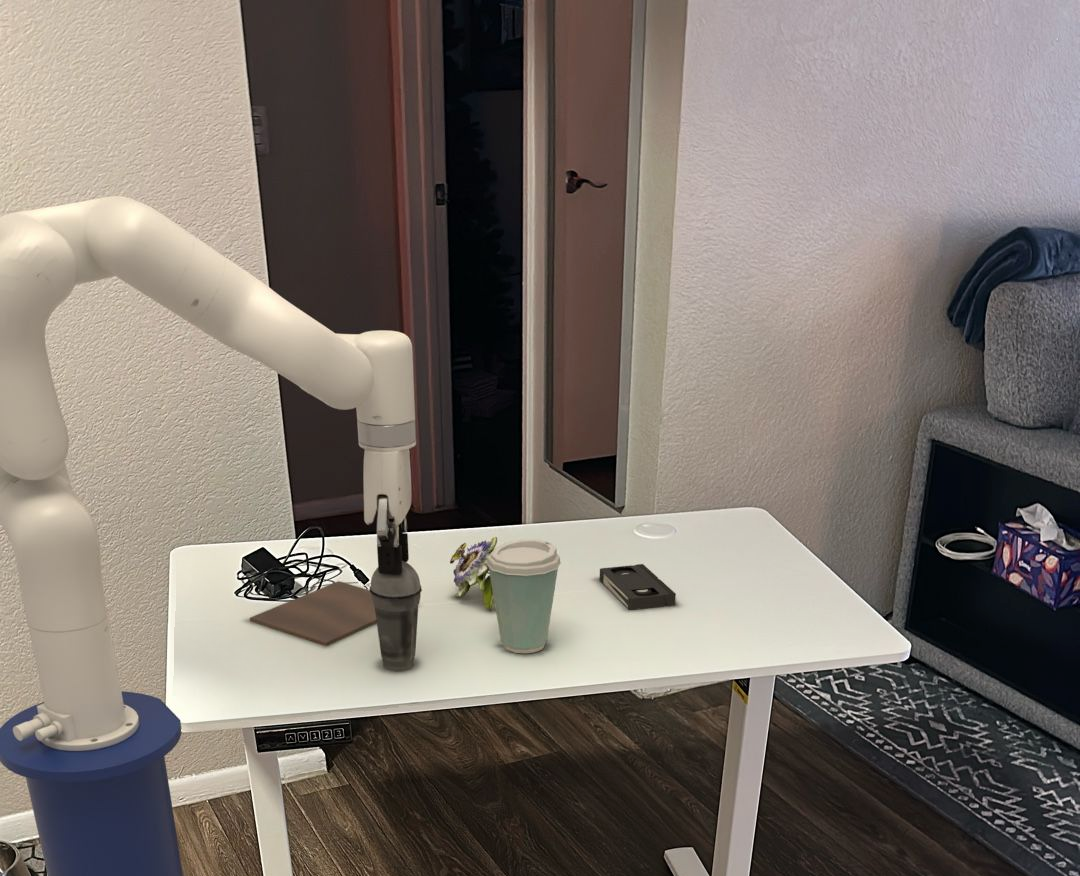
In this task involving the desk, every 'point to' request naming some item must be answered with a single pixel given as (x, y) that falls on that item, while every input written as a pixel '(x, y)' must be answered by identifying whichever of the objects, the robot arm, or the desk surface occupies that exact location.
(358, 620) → the walnut board
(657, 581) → the vhs tape
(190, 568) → the desk surface
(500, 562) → the disposable coffee cup
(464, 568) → the passion flower
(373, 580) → the beverage cup
